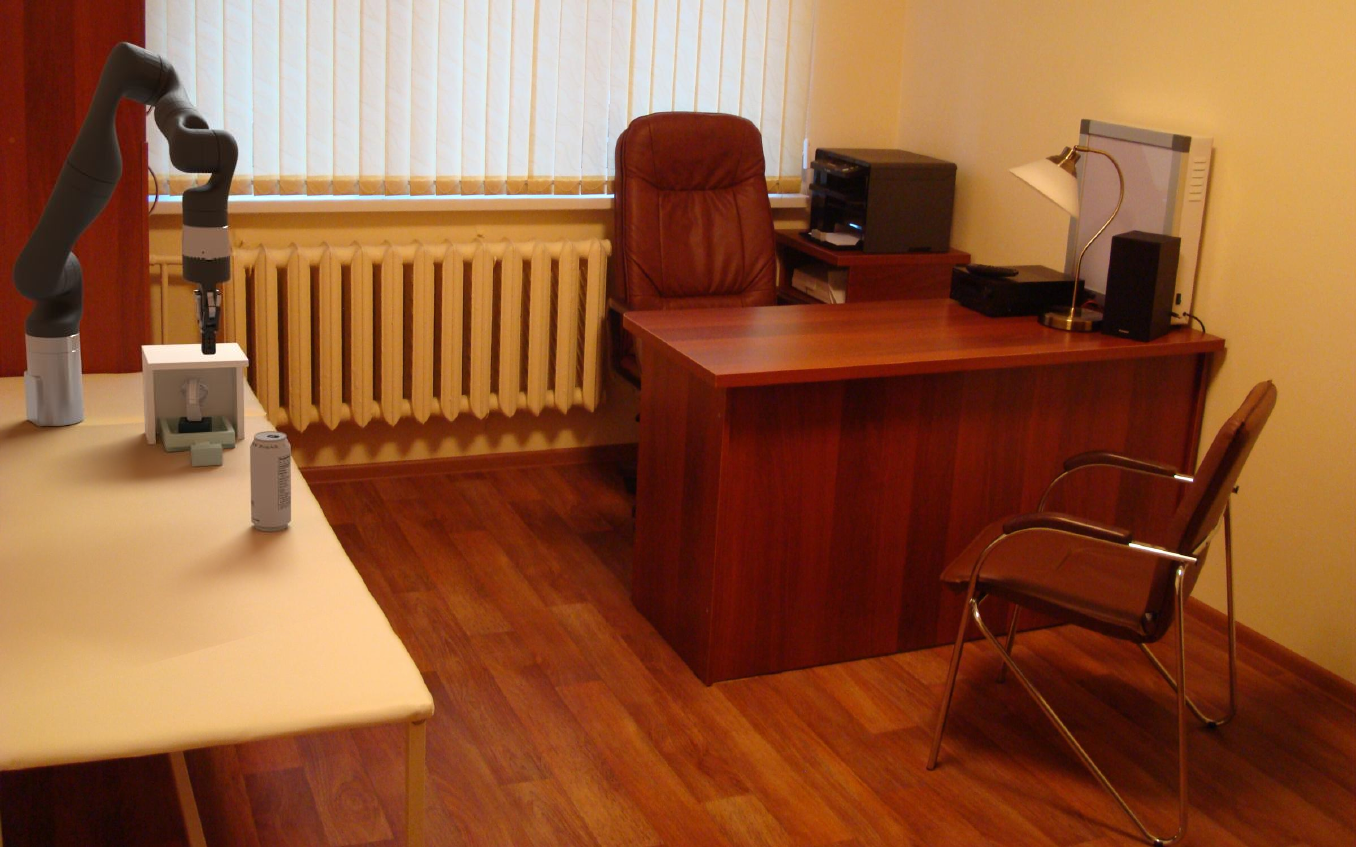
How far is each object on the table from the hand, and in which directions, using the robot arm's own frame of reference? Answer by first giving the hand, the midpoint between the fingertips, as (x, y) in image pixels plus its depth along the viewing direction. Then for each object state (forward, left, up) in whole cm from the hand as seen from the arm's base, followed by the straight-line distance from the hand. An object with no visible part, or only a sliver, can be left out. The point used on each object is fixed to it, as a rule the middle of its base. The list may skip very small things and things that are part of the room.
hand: (208, 353), depth 216 cm
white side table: (+7, +20, -22) cm, 31 cm away
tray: (+5, +16, -22) cm, 27 cm away
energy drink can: (-3, -27, -22) cm, 35 cm away
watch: (+7, +20, -21) cm, 30 cm away
